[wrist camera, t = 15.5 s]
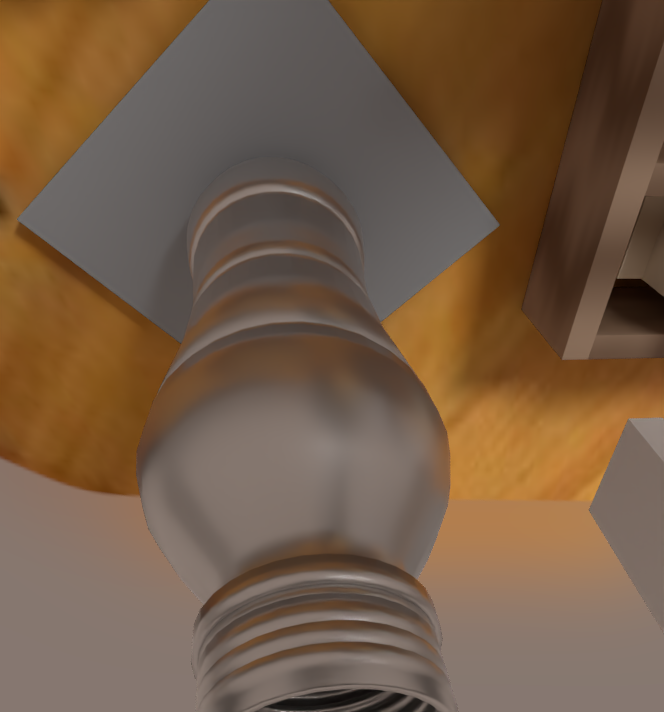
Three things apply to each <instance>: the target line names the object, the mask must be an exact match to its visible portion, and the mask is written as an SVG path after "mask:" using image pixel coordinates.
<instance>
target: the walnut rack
mask: <svg viewBox="0 0 664 712" xmlns="http://www.w3.org/2000/svg"><path fill="white" fill-rule="evenodd" d="M644 196H656V197H664V0H603V1H602V4H601V8H600V12H599V16H598V20H597V23H596V27H595V31H594V35H593V39H592V42H591V46H590V50H589V54H588V58H587V62H586V65H585V69H584V73H583V77H582V81H581V84H580V88H579V92H578V96H577V100H576V104H575V107H574V111H573V115H572V119H571V123H570V126H569V130H568V134H567V138H566V142H565V145H564V149H563V153H562V157H561V161H560V165H559V168H558V172H557V176H556V180H555V184H554V187H553V191H552V195H551V199H550V203H549V207H548V210H547V214H546V218H545V222H544V226H543V229H542V233H541V237H540V241H539V245H538V248H537V252H536V256H535V260H534V264H533V268H532V271H531V275H530V279H529V283H528V287H527V290H526V294H525V298H524V302H523V306H522V309H521V310H522V311H523V312H524V313H525V315H526V316H527V317H528V318H529V320H530V321H531V322H532V323H533V325H534V326H535V327H536V328H537V330H538V331H539V332H540V333H541V335H542V336H543V337H544V338H545V340H546V341H547V342H548V343H549V345H550V346H551V347H552V348H553V350H554V351H555V352H556V353H557V354H558V356H559V357H560V358H561V359H562V360H578V359H626V358H664V297H663V296H662V295H661V294H660V293H658V292H657V291H656V290H655V289H653V288H652V287H613V285H614V282H615V280H616V277H617V274H618V271H619V268H620V265H621V262H622V259H623V257H624V254H625V251H626V248H627V245H628V242H629V239H630V236H631V234H632V231H633V228H634V225H635V222H636V219H637V216H638V214H639V211H640V208H641V205H642V202H643V199H644Z"/></svg>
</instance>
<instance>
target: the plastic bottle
mask: <svg viewBox="0 0 664 712" xmlns="http://www.w3.org/2000/svg"><path fill="white" fill-rule="evenodd" d="M187 253H188V261H189V267H190V273H191V276H192V279H193V307H192V311H191V314H190V319H189V322H188V325H187V328H186V332H185V336H184V339H183V341H182V343H181V345H180V348H179V350H178V352H177V354H176V356H175V358H174V360H173V362H172V364H171V366H170V368H169V370H168V372H167V374H166V376H165V378H164V380H163V382H162V384H161V387H160V389H159V391H158V393H157V395H156V397H155V399H154V400H153V403H152V406H151V409H150V412H149V415H148V418H147V421H146V423H145V426H144V429H143V432H142V436H141V439H140V442H139V445H138V449H137V464H136V476H137V481H138V486H139V491H140V496H141V501H142V507H143V511H144V514H145V518H146V522H147V526H148V529H149V531H150V533H151V534H152V536H153V538H154V539H155V541H156V543H157V545H158V546H159V548H160V549H161V551H162V552H163V554H164V555H165V557H166V558H167V560H168V561H169V563H170V564H171V566H172V567H173V569H174V570H175V572H176V573H177V574H178V576H179V577H180V579H181V580H182V581H183V583H184V584H185V585H186V586H187V587H188V588H189V589H190V590H191V591H192V592H193V594H194V595H195V596H196V597H197V598H198V599H199V600H200V601H201V602H202V603H203V604H204V605H203V607H202V608H201V609H200V612H199V614H198V616H197V619H196V620H195V623H194V630H193V642H192V659H191V665H192V669H193V672H194V677H195V679H196V680H197V697H196V712H458V707H457V703H456V700H455V697H454V693H453V690H452V687H451V684H450V680H449V677H448V674H447V670H446V667H445V663H444V660H443V657H442V653H441V645H442V633H441V628H440V624H439V620H438V617H437V614H436V610H435V607H434V604H433V601H432V599H431V597H430V595H429V594H428V592H427V590H426V588H425V587H424V586H423V585H422V584H421V583H420V582H419V581H418V580H417V579H418V577H419V575H420V573H421V572H422V569H423V568H424V566H425V564H426V562H427V560H428V558H429V555H430V553H431V550H432V548H433V546H434V543H435V540H436V538H437V535H438V531H439V529H440V526H441V523H442V521H443V518H444V515H445V512H446V509H447V506H448V499H449V492H450V450H449V442H448V435H447V431H446V428H445V426H444V424H443V421H442V419H441V417H440V414H439V412H438V410H437V408H436V406H435V405H434V403H433V401H432V399H431V397H430V395H429V394H428V392H427V390H426V388H425V386H424V385H423V383H422V382H421V381H420V379H419V378H418V377H417V375H416V374H415V372H414V371H413V369H412V368H411V367H410V365H409V364H408V362H407V361H406V359H405V358H404V357H403V355H402V354H401V352H400V351H399V350H398V348H397V347H396V345H395V344H394V342H393V341H392V340H391V338H390V337H389V335H388V334H387V332H386V331H385V330H384V328H383V326H382V324H381V322H380V320H379V318H378V315H377V313H376V311H375V309H374V307H373V305H372V303H371V301H370V299H369V297H368V294H367V290H366V284H365V279H364V243H363V235H362V230H361V225H360V222H359V219H358V217H357V215H356V212H355V210H354V207H353V206H352V205H351V203H350V202H349V200H348V199H347V197H346V196H345V194H344V193H343V192H342V191H341V190H340V189H339V188H338V187H337V186H336V185H335V184H334V183H333V182H332V181H330V180H329V179H328V178H327V177H325V176H324V175H323V174H321V173H320V172H318V171H316V170H315V169H313V168H312V167H310V166H308V165H305V164H303V163H300V162H298V161H295V160H291V159H286V158H281V157H260V158H255V159H251V160H246V161H244V162H241V163H239V164H237V165H234V166H232V167H230V168H229V169H227V170H226V171H225V172H223V173H222V174H221V175H219V176H218V177H217V178H216V179H215V180H214V181H213V182H212V183H211V184H210V185H209V186H208V187H207V189H206V190H205V191H204V192H203V193H202V194H201V195H200V197H199V199H198V201H197V202H196V204H195V206H194V208H193V210H192V212H191V216H190V219H189V223H188V226H187Z"/></svg>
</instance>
